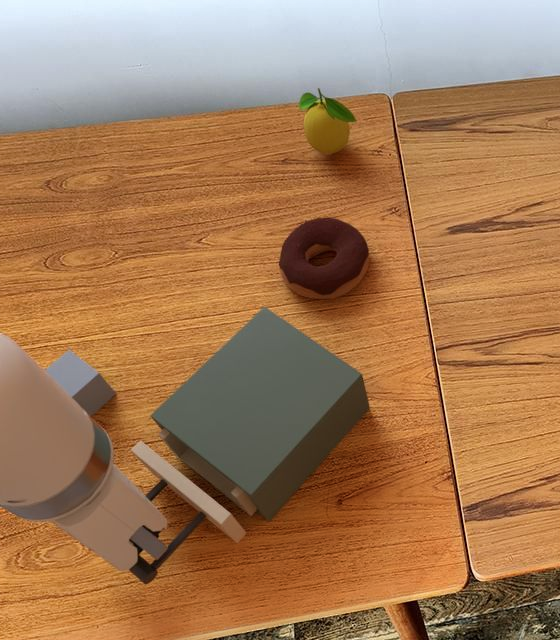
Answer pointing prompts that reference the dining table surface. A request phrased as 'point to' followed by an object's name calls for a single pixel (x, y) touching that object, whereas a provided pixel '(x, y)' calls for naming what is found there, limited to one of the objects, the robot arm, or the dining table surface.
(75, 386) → the block
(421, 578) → the dining table surface
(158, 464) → the drawer
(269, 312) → the cabinet
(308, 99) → the lemon
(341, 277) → the donut
